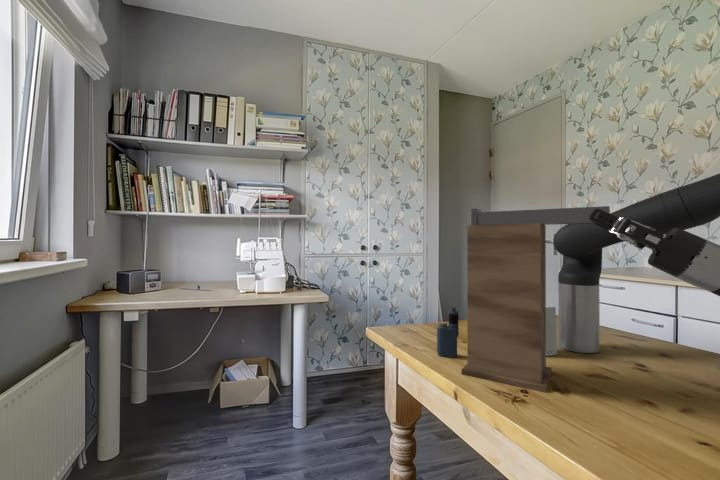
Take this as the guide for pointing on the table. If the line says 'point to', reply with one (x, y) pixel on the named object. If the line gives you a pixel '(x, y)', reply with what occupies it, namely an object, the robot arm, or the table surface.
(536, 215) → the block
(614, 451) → the table surface
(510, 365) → the stand
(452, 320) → the vaping device
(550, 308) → the skincare box
